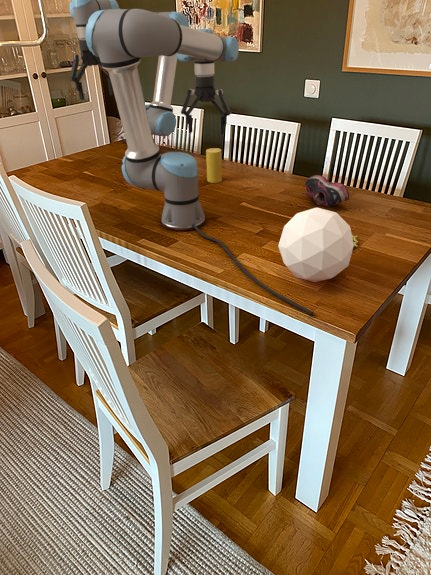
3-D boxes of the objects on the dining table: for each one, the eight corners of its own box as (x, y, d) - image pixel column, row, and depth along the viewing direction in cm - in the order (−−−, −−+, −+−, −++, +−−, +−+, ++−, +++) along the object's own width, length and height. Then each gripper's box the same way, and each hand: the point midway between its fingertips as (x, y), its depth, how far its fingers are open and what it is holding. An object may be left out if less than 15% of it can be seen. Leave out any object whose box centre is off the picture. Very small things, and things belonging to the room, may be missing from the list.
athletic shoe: (314, 174, 176) (289, 181, 172) (350, 168, 156) (323, 177, 152) (319, 202, 179) (295, 210, 175) (356, 200, 159) (329, 209, 155)
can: (213, 176, 196) (212, 147, 189) (224, 179, 193) (224, 149, 186) (204, 181, 192) (202, 150, 185) (216, 183, 189) (215, 153, 182)
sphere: (322, 305, 122) (338, 279, 104) (262, 266, 127) (267, 235, 108) (357, 254, 127) (378, 220, 109) (298, 218, 132) (308, 180, 113)
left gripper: (61, 41, 165) (72, 102, 176) (120, 37, 178) (127, 94, 189) (53, 41, 170) (65, 100, 181) (112, 37, 183) (119, 92, 194)
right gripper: (238, 74, 169) (238, 131, 181) (177, 74, 175) (180, 129, 186) (234, 77, 163) (234, 136, 174) (170, 76, 169) (174, 133, 180)
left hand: (97, 97), depth 185 cm, fingers open, 13 cm apart
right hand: (206, 132), depth 180 cm, fingers open, 13 cm apart
